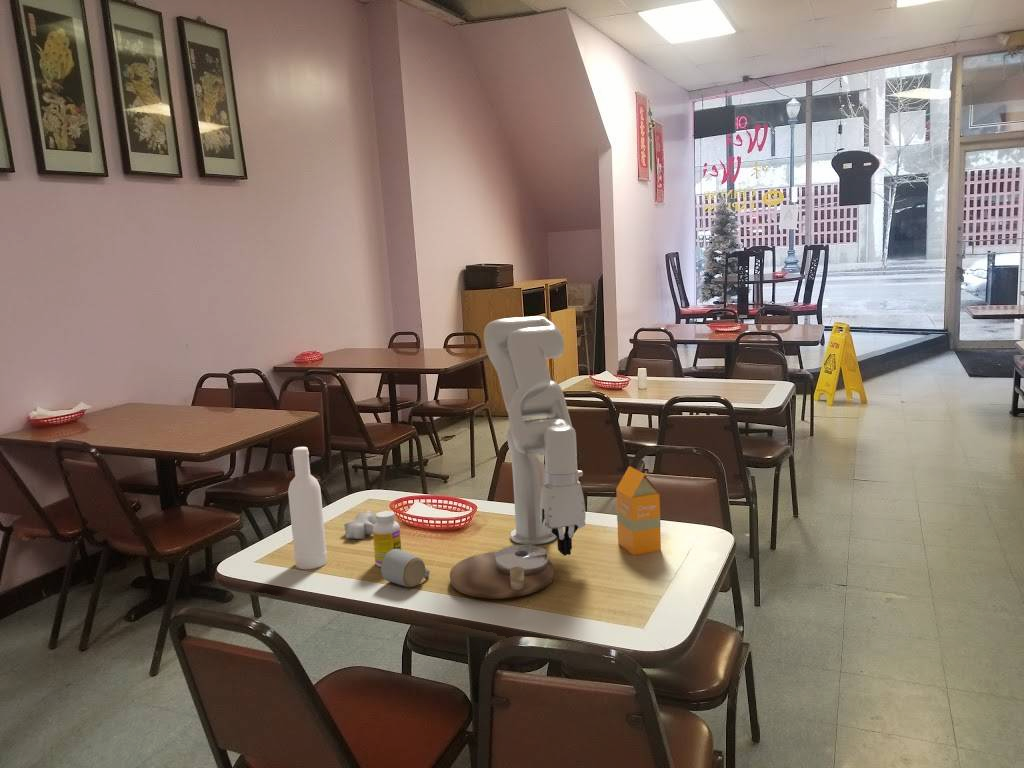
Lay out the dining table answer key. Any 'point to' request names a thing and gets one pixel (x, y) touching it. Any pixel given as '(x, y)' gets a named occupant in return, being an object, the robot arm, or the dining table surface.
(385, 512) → the supplement bottle
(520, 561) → the steel cover
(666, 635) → the dining table surface
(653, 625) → the dining table surface
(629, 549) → the orange juice
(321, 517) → the bottle
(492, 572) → the lazy susan
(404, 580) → the ceramic mug
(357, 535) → the bunny figurine
